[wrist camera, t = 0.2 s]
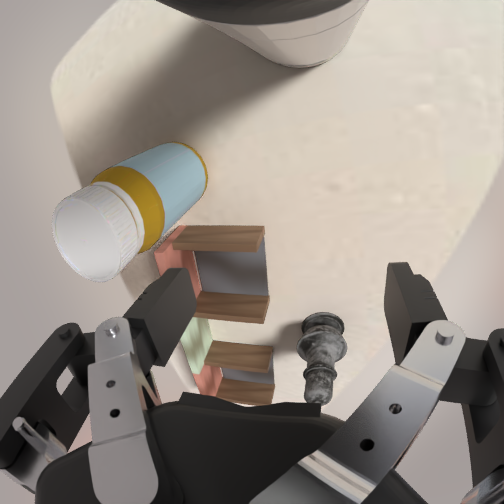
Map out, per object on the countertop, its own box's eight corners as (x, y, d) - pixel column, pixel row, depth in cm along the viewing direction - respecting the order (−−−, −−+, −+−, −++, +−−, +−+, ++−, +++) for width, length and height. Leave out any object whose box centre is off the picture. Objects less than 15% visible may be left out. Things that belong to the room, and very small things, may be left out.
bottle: (221, 161, 28) (138, 228, 15) (193, 216, 32) (115, 304, 19) (162, 129, 28) (53, 172, 15) (141, 185, 31) (45, 253, 19)
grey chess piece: (346, 343, 36) (345, 424, 26) (301, 344, 38) (289, 423, 28) (346, 309, 34) (348, 394, 23) (297, 311, 35) (283, 394, 25)
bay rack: (179, 225, 33) (153, 252, 28) (264, 226, 31) (251, 256, 26) (217, 379, 46) (206, 408, 41) (275, 386, 44) (268, 418, 39)
